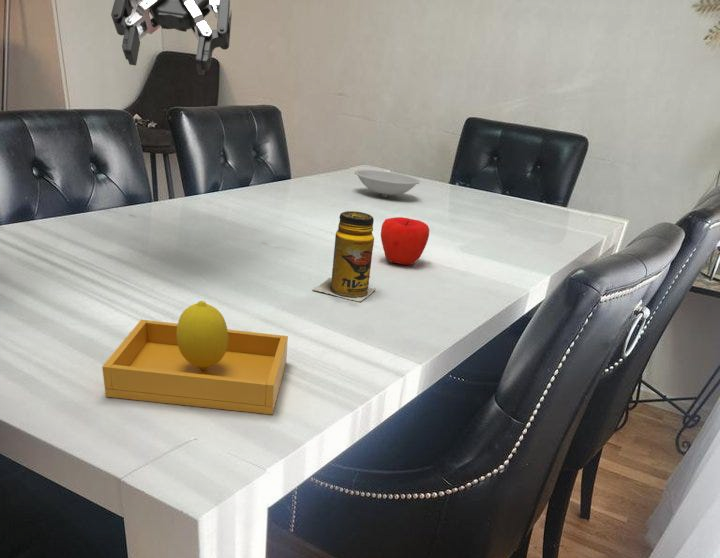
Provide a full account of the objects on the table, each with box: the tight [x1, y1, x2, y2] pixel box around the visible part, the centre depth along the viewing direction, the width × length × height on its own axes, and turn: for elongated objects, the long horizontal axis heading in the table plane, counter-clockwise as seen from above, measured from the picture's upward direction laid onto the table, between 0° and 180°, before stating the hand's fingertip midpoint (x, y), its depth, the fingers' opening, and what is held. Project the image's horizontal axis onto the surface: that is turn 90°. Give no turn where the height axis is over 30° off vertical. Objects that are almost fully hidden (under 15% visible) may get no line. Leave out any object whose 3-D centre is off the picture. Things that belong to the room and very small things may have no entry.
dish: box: [354, 169, 421, 198], centre depth 172 cm, size 18×14×5 cm
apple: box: [380, 216, 430, 266], centre depth 120 cm, size 9×9×8 cm
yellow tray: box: [101, 319, 289, 415], centre depth 73 cm, size 18×14×4 cm
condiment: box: [311, 210, 377, 302], centre depth 102 cm, size 7×8×12 cm
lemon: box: [177, 300, 228, 370], centre depth 72 cm, size 6×6×8 cm
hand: (165, 64), depth 80 cm, fingers open, 8 cm apart
